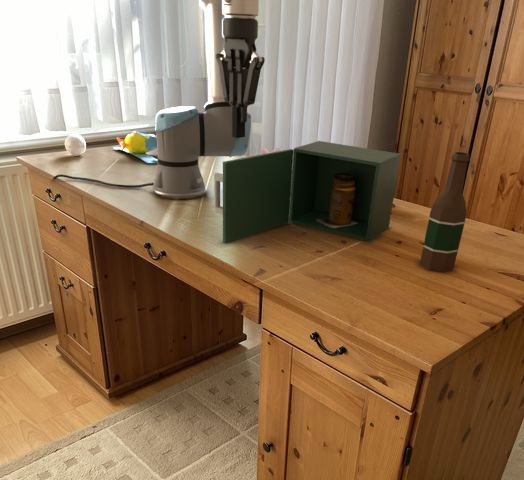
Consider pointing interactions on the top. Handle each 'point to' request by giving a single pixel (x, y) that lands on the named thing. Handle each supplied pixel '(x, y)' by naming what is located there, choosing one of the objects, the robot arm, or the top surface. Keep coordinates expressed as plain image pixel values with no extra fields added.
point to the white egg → (75, 145)
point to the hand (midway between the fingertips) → (238, 136)
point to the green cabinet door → (254, 193)
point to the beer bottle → (446, 220)
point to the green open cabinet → (366, 185)
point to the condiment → (341, 201)
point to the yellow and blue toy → (139, 145)
